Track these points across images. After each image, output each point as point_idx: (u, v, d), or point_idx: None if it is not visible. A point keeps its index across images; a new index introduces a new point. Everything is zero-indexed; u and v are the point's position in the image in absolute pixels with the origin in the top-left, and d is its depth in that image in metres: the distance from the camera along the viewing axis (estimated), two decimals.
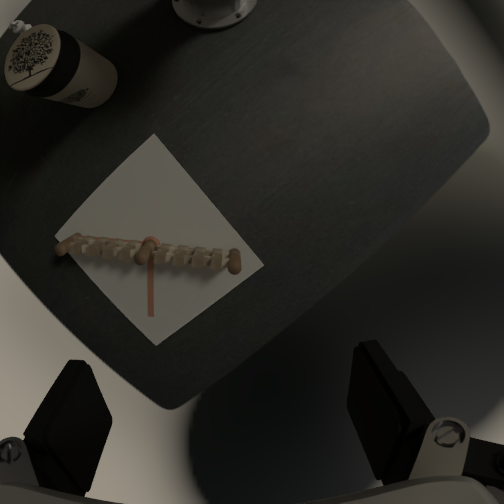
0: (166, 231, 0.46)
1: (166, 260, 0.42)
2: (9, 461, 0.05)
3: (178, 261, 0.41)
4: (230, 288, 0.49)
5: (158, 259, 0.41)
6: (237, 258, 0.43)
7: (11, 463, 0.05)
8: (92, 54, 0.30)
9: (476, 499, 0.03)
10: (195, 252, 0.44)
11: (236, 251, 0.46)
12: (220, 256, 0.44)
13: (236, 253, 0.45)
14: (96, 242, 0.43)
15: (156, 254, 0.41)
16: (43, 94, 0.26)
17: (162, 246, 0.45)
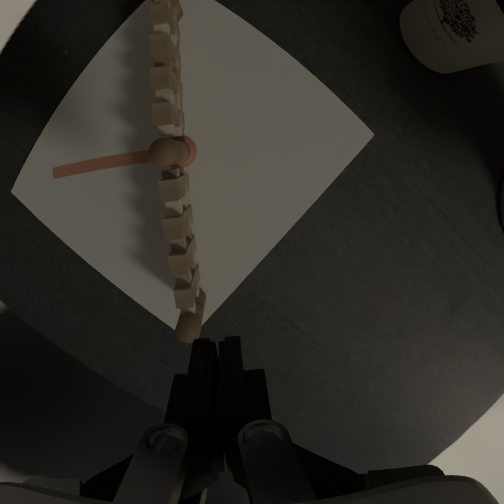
0: (210, 176, 0.25)
1: (167, 202, 0.21)
2: (159, 447, 0.07)
3: (172, 230, 0.21)
4: (136, 298, 0.28)
5: (167, 189, 0.20)
6: (201, 324, 0.24)
7: (158, 453, 0.06)
8: None
9: (476, 499, 0.03)
10: (190, 246, 0.24)
11: (204, 305, 0.27)
12: (195, 293, 0.24)
13: (203, 311, 0.26)
14: (174, 50, 0.19)
15: (176, 182, 0.20)
16: None
17: (185, 178, 0.23)
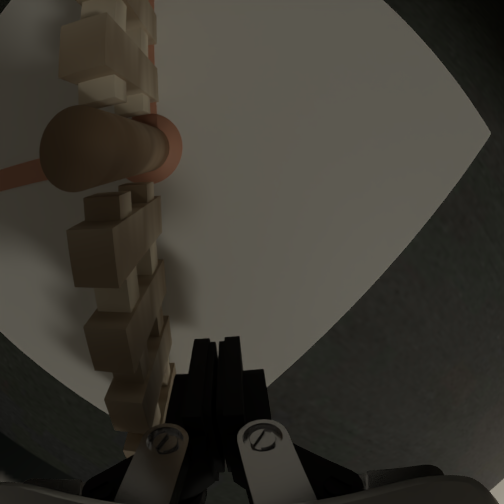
0: (211, 199, 0.12)
1: None
2: (160, 447, 0.07)
3: (109, 353, 0.07)
4: (94, 401, 0.15)
5: (91, 254, 0.07)
6: None
7: (158, 453, 0.06)
8: None
9: (476, 499, 0.03)
10: (157, 357, 0.11)
11: None
12: None
13: None
14: None
15: (115, 236, 0.07)
16: None
17: (152, 211, 0.10)
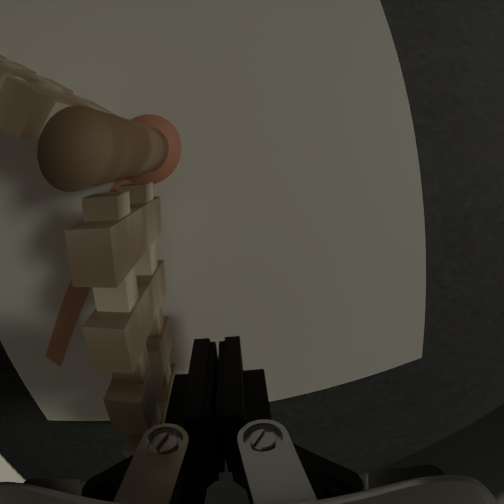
0: (227, 127, 0.12)
1: None
2: (160, 447, 0.07)
3: (108, 353, 0.07)
4: (315, 387, 0.15)
5: (89, 254, 0.07)
6: None
7: (158, 453, 0.06)
8: None
9: (476, 499, 0.03)
10: (157, 357, 0.11)
11: None
12: None
13: None
14: None
15: (113, 236, 0.07)
16: None
17: (151, 211, 0.10)
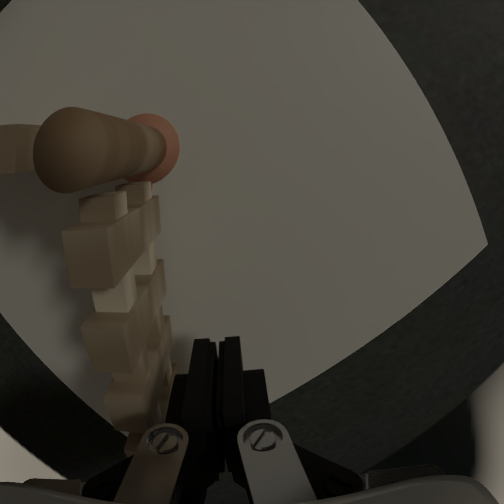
0: (210, 95, 0.11)
1: None
2: (160, 447, 0.07)
3: (107, 354, 0.07)
4: (401, 313, 0.14)
5: (86, 255, 0.07)
6: None
7: (158, 453, 0.06)
8: None
9: (476, 499, 0.03)
10: (157, 357, 0.11)
11: None
12: None
13: None
14: None
15: (110, 237, 0.07)
16: None
17: (149, 210, 0.10)
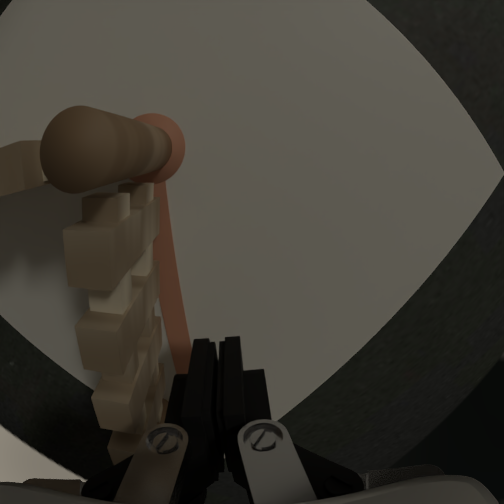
0: (203, 82, 0.11)
1: None
2: (159, 447, 0.07)
3: (99, 354, 0.07)
4: (438, 258, 0.14)
5: (86, 256, 0.07)
6: None
7: (158, 453, 0.06)
8: None
9: (476, 499, 0.03)
10: (147, 358, 0.11)
11: None
12: None
13: None
14: None
15: (111, 239, 0.07)
16: None
17: (150, 212, 0.10)
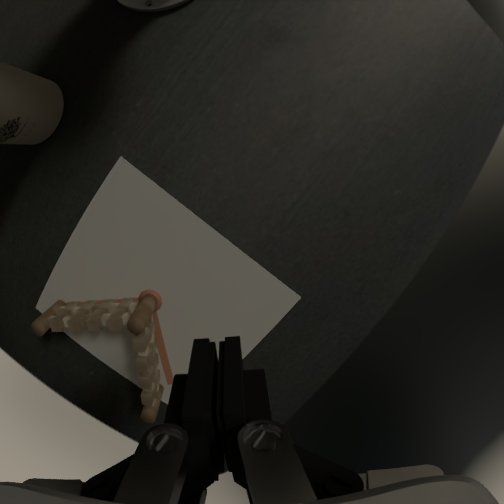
0: (165, 279, 0.35)
1: None
2: (160, 447, 0.07)
3: (141, 366, 0.31)
4: (263, 334, 0.37)
5: (138, 344, 0.30)
6: None
7: (158, 453, 0.06)
8: (16, 72, 0.19)
9: (476, 499, 0.03)
10: (153, 367, 0.34)
11: (161, 396, 0.37)
12: (155, 393, 0.34)
13: (160, 401, 0.36)
14: (80, 311, 0.32)
15: (144, 341, 0.30)
16: None
17: (152, 325, 0.34)
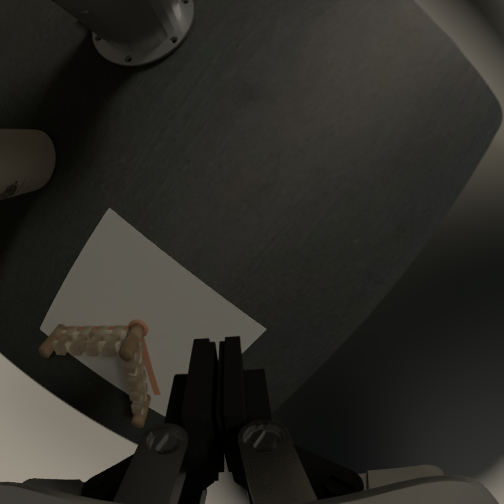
0: (150, 312, 0.40)
1: None
2: (159, 447, 0.07)
3: (131, 384, 0.37)
4: None
5: (129, 368, 0.36)
6: (145, 418, 0.40)
7: (158, 453, 0.06)
8: (9, 140, 0.24)
9: (476, 499, 0.03)
10: (141, 383, 0.40)
11: None
12: (143, 404, 0.40)
13: None
14: (79, 337, 0.37)
15: (133, 365, 0.36)
16: None
17: (140, 349, 0.39)
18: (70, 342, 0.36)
